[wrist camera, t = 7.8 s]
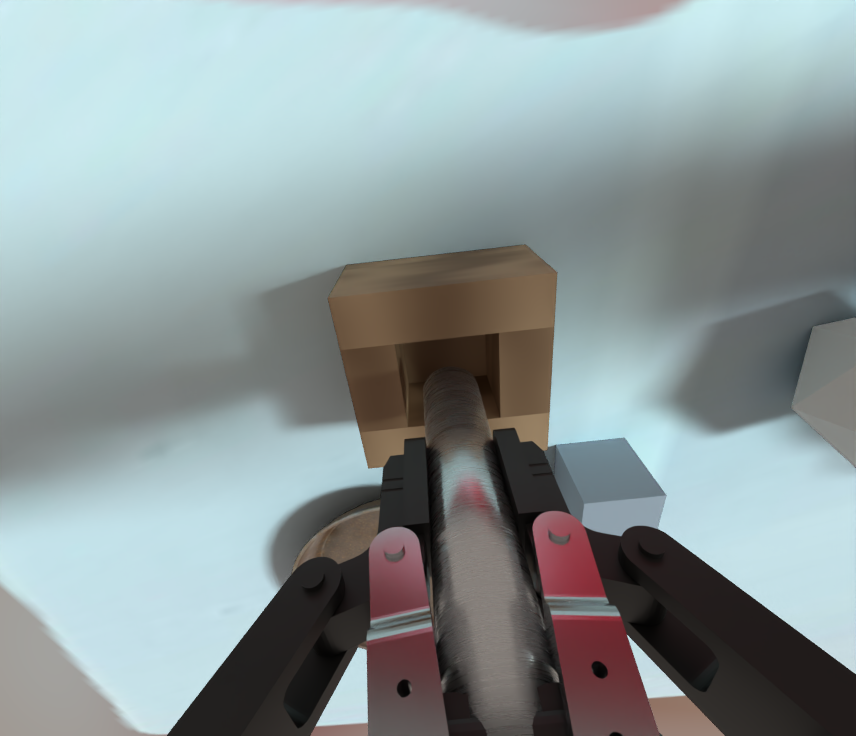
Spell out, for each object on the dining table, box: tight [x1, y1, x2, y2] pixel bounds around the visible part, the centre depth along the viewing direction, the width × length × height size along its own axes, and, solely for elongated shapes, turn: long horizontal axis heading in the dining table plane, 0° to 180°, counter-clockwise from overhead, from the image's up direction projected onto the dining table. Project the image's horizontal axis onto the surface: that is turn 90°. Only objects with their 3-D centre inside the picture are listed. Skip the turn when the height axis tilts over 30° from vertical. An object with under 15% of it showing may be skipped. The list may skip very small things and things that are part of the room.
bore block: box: [328, 245, 557, 468], centre depth 20 cm, size 9×9×5 cm
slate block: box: [554, 438, 666, 536], centre depth 25 cm, size 4×4×5 cm
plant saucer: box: [292, 499, 434, 650], centre depth 30 cm, size 18×18×3 cm
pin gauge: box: [423, 367, 559, 736], centre depth 12 cm, size 2×2×12 cm
